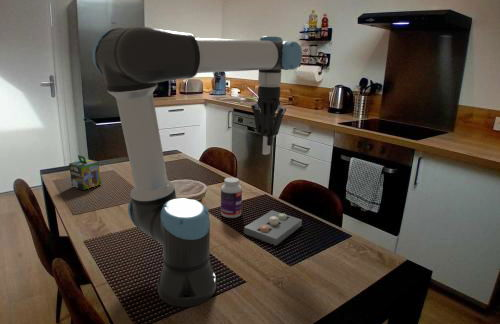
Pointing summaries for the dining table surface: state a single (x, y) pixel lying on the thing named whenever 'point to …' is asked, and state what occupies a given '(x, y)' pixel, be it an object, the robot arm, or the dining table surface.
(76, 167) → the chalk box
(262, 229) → the terracotta button
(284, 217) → the sage button
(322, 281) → the dining table surface
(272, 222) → the cream button
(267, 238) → the panel
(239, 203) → the pill bottle
